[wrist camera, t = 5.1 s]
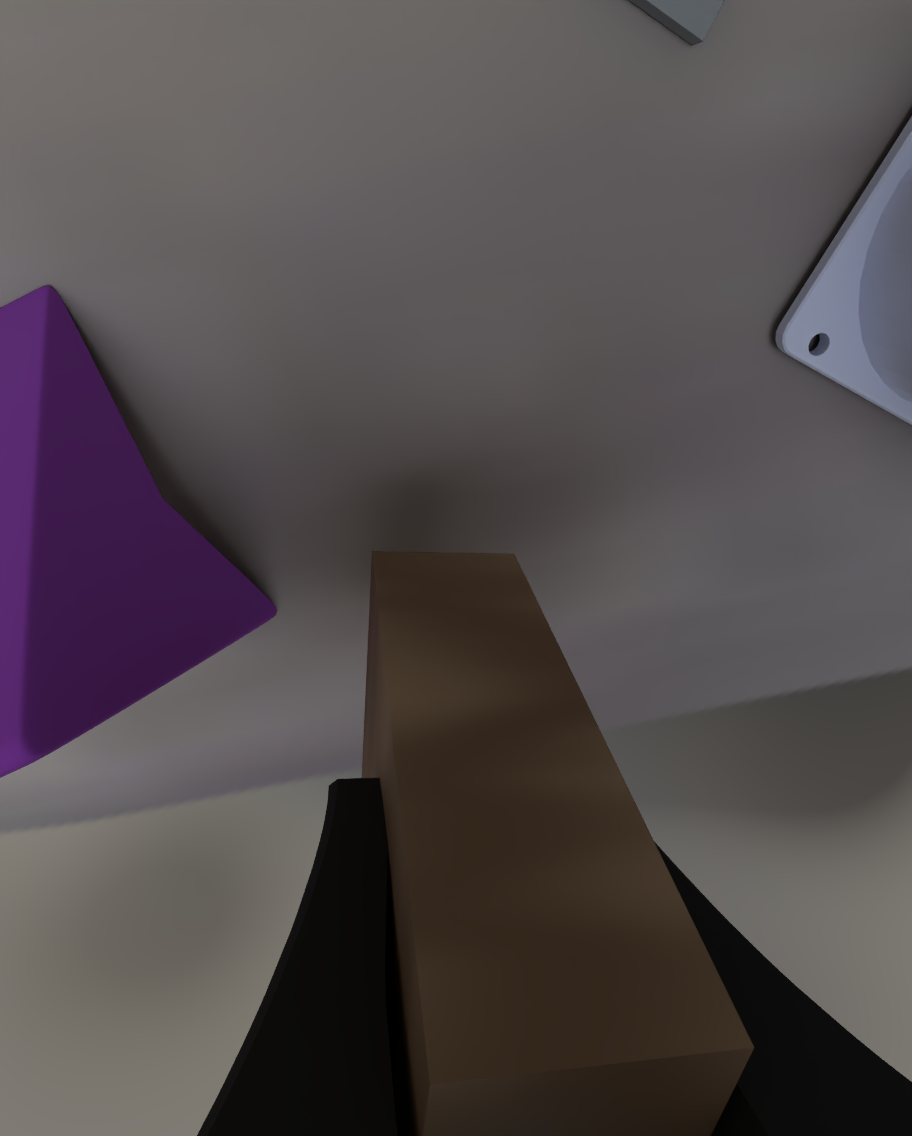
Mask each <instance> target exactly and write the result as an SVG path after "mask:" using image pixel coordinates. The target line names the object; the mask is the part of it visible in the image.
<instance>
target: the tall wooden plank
mask: <svg viewBox="0 0 912 1136" xmlns="http://www.w3.org/2000/svg"><path fill="white" fill-rule="evenodd" d="M362 778H380V785H381V791H382V798H383V806H384V814H385V823H386V831H387V840H388V856H387V902H386V949H385V984H386V1011H387V1023H388V1035H389V1046H390V1058H391V1070H392V1082H393V1093H394V1104H395V1115H396V1125H397V1136H711V1134H712V1132H713V1130H714V1128H715V1126H716V1124H717V1122H718V1120H719V1118H720V1116H721V1114H722V1112H723V1110H724V1108H725V1106H726V1104H727V1102H728V1100H729V1098H730V1096H731V1094H732V1092H733V1090H734V1088H735V1086H736V1084H737V1082H738V1080H739V1078H740V1076H741V1074H742V1072H743V1070H744V1068H745V1066H746V1064H747V1062H748V1059H749V1057H750V1055H751V1053H752V1051H753V1049H754V1046H753V1044H752V1042H751V1040H750V1038H749V1036H748V1034H747V1032H746V1030H745V1028H744V1025H743V1023H742V1021H741V1019H740V1017H739V1015H738V1013H737V1011H736V1009H735V1007H734V1005H733V1003H732V1001H731V999H730V997H729V995H728V993H727V991H726V988H725V986H724V984H723V982H722V980H721V978H720V976H719V974H718V972H717V970H716V968H715V966H714V964H713V962H712V960H711V958H710V956H709V954H708V951H707V949H706V947H705V945H704V943H703V941H702V939H701V937H700V935H699V933H698V931H697V929H696V927H695V925H694V923H693V921H692V919H691V916H690V914H689V912H688V910H687V908H686V906H685V904H684V902H683V900H682V898H681V896H680V894H679V892H678V890H677V888H676V886H675V884H674V882H673V879H672V877H671V875H670V873H669V871H668V869H667V867H666V865H665V863H664V861H663V859H662V857H661V855H660V853H659V851H658V849H657V847H656V845H655V842H654V841H653V838H652V836H651V834H650V832H649V830H648V828H647V826H646V824H645V822H644V820H643V818H642V816H641V814H640V812H639V810H638V808H637V805H636V803H635V801H634V800H633V797H632V795H631V793H630V791H629V789H628V787H627V785H626V783H625V781H624V779H623V777H622V775H621V773H620V770H619V768H618V767H617V764H616V762H615V760H614V758H613V756H612V754H611V752H610V750H609V748H608V746H607V744H606V742H605V740H604V738H603V736H602V733H601V731H600V729H599V727H598V725H597V723H596V721H595V719H594V717H593V715H592V713H591V711H590V709H589V707H588V705H587V703H586V701H585V698H584V696H583V694H582V692H581V690H580V688H579V686H578V684H577V682H576V680H575V678H574V676H573V674H572V672H571V670H570V668H569V666H568V664H567V661H566V659H565V657H564V655H563V653H562V651H561V649H560V647H559V645H558V643H557V641H556V639H555V637H554V635H553V633H552V631H551V629H550V627H549V624H548V622H547V620H546V618H545V616H544V614H543V612H542V610H541V608H540V606H539V604H538V602H537V600H536V598H535V596H534V594H533V592H532V589H531V587H530V585H529V583H528V581H527V579H526V577H525V575H524V573H523V571H522V569H521V567H520V565H519V563H518V561H517V559H516V557H515V555H514V554H496V553H439V552H381V551H372V566H371V588H370V610H369V631H368V653H367V675H366V696H365V718H364V740H363V762H362Z"/></svg>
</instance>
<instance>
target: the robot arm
mask: <svg viewBox="0 0 912 1136" xmlns="http://www.w3.org/2000/svg"><path fill="white" fill-rule="evenodd" d="M817 334H819V335H820V341H819V344H818V346H817V347H816V348H815V349H814V350H813V351H810V352H809V347H808V345H809V343H810V340H811V339H812V338H813V337H814V336H815V335H817ZM775 341H776V344H777V347H778V348H779V349H780V350H781V351H782V352H783V353H785V354H787V355H788V356H790V357H792V358H794V359H795V360H797V361H799V362H801V363H803V364H804V365H806V366H808V367H810V368H811V369H813V370H815V371H817V372H818V373H820V374H822V375H824V376H825V377H827V378H829V379H831V380H832V381H834V382H836V383H838V384H840V385H841V386H843V387H845V388H847V389H848V390H850V391H852V392H854V393H855V394H857V395H859V396H861V397H862V398H864V399H866V400H868V401H869V402H871V403H873V404H875V405H877V406H878V407H880V408H882V409H884V410H885V411H887V412H889V413H891V414H892V415H894V416H896V417H898V418H899V419H901V420H903V421H905V422H906V423H908V424H910V425H912V116H911V118H910V119H909V121H908V123H907V124H906V126H905V127H904V129H903V131H902V132H901V134H900V135H899V137H898V138H897V140H896V142H895V143H894V145H893V146H892V148H891V149H890V151H889V153H888V154H887V156H886V157H885V159H884V160H883V162H882V164H881V165H880V167H879V168H878V170H877V171H876V173H875V175H874V176H873V178H872V179H871V181H870V182H869V184H868V186H867V187H866V189H865V190H864V192H863V193H862V195H861V197H860V198H859V200H858V201H857V203H856V204H855V206H854V208H853V209H852V211H851V212H850V214H849V215H848V217H847V219H846V220H845V222H844V223H843V225H842V226H841V228H840V230H839V231H838V233H837V234H836V236H835V237H834V239H833V241H832V242H831V244H830V245H829V247H828V248H827V250H826V252H825V253H824V255H823V256H822V258H821V259H820V261H819V263H818V264H817V266H816V267H815V269H814V270H813V272H812V274H811V275H810V277H809V278H808V280H807V282H806V283H805V285H804V286H803V288H802V289H801V291H800V293H799V294H798V296H797V297H796V299H795V300H794V302H793V304H792V305H791V307H790V308H789V310H788V311H787V313H786V315H785V316H784V318H783V319H782V321H781V322H780V324H779V326H778V329H777V331H776V339H775ZM655 845H656V847H657V849H658V851H659V853H660V855H661V857H662V859H663V861H664V863H665V865H666V867H667V869H668V871H669V873H670V875H671V877H672V879H673V882H674V884H675V886H676V888H677V890H678V892H679V894H680V896H681V898H682V900H683V902H684V904H685V906H686V908H687V910H688V912H689V914H690V916H691V919H692V921H693V923H694V925H695V927H696V929H697V931H698V933H699V935H700V937H701V939H702V941H703V943H704V945H705V947H706V949H707V951H708V954H709V956H710V958H711V960H712V962H713V964H714V966H715V968H716V970H717V972H718V974H719V976H720V978H721V980H722V982H723V984H724V986H725V988H726V991H727V993H728V995H729V997H730V999H731V1001H732V1003H733V1005H734V1007H735V1009H736V1011H737V1013H738V1015H739V1017H740V1019H741V1021H742V1023H743V1025H744V1028H745V1030H746V1032H747V1034H748V1036H749V1038H750V1040H751V1042H752V1044H753V1046H754V1049H753V1051H752V1053H751V1055H750V1057H749V1059H748V1062H747V1064H746V1066H745V1068H744V1070H743V1072H742V1074H741V1076H740V1078H739V1080H738V1082H737V1084H736V1086H735V1088H734V1090H733V1092H732V1094H731V1096H730V1098H729V1100H728V1102H727V1104H726V1106H725V1108H724V1110H723V1112H722V1114H721V1116H720V1118H719V1120H718V1122H717V1124H716V1126H715V1128H714V1130H713V1132H712V1134H711V1136H912V1082H911V1081H909V1080H908V1079H907V1078H906V1077H904V1076H903V1075H902V1074H900V1073H899V1072H898V1071H896V1070H895V1069H894V1068H893V1067H891V1066H890V1065H889V1064H888V1063H886V1062H885V1061H884V1060H882V1059H881V1058H880V1057H879V1056H878V1055H876V1054H875V1053H874V1052H873V1051H871V1050H870V1049H869V1048H868V1047H867V1046H865V1045H864V1044H863V1043H862V1042H860V1041H859V1040H858V1039H856V1037H854V1036H853V1035H852V1034H851V1033H849V1032H848V1031H847V1030H846V1029H845V1028H844V1027H842V1026H841V1025H840V1024H839V1023H838V1022H837V1021H836V1020H834V1019H833V1018H832V1017H831V1016H830V1015H829V1014H828V1013H826V1012H825V1011H824V1010H823V1009H822V1008H821V1007H819V1006H818V1005H817V1004H816V1003H815V1002H814V1001H813V1000H811V999H810V998H809V997H808V996H807V995H806V994H804V993H803V992H802V991H801V990H800V989H799V988H798V987H796V986H795V985H794V984H793V983H792V982H791V981H790V980H789V979H788V978H787V977H785V976H784V975H783V974H782V973H781V972H780V971H779V970H778V969H777V968H776V967H775V966H774V965H772V963H770V961H768V960H767V959H766V958H765V957H764V956H763V955H762V954H761V953H760V952H759V951H758V950H757V949H756V948H755V947H754V946H753V945H752V944H751V943H750V942H749V941H748V940H747V939H746V938H745V937H744V936H743V935H742V934H741V933H740V932H739V931H738V930H737V929H736V928H735V927H734V926H733V925H732V924H731V923H730V922H729V921H728V920H727V919H726V918H725V917H724V916H723V915H722V914H721V913H720V912H719V911H718V910H717V909H716V908H715V907H714V906H713V905H712V904H711V903H710V902H709V900H708V899H707V898H706V897H705V896H704V895H703V894H702V893H701V892H700V891H699V890H698V889H697V888H696V887H695V885H694V884H692V882H691V881H690V880H689V879H688V878H687V877H686V876H685V875H684V874H683V873H682V872H681V870H680V869H679V868H678V867H677V866H676V865H675V864H674V863H673V862H672V861H671V860H670V858H669V857H668V856H667V855H666V854H665V853H664V852H663V851H662V850H661V849H660V847H659V846H658V845H657V844H656V843H655ZM387 856H388V840H387V831H386V823H385V814H384V806H383V798H382V791H381V785H380V778H354V779H337V780H336V781H335V782H333V783H332V784H331V785H329V791H328V804H327V810H326V815H325V821H324V826H323V830H322V834H321V839H320V842H319V846H318V850H317V853H316V857H315V861H314V864H313V868H312V871H311V874H310V877H309V880H308V883H307V886H306V889H305V892H304V895H303V898H302V901H301V904H300V907H299V910H298V913H297V915H296V918H295V921H294V924H293V927H292V929H291V932H290V935H289V937H288V940H287V942H286V944H285V947H284V949H283V952H282V954H281V957H280V959H279V962H278V964H277V967H276V969H275V972H274V974H273V976H272V979H271V981H270V984H269V986H268V989H267V991H266V994H265V996H264V998H263V1001H262V1003H261V1005H260V1007H259V1010H258V1012H257V1014H256V1016H255V1019H254V1021H253V1023H252V1025H251V1028H250V1030H249V1032H248V1034H247V1036H246V1039H245V1041H244V1043H243V1045H242V1047H241V1049H240V1051H239V1053H238V1055H237V1057H236V1059H235V1062H234V1064H233V1066H232V1068H231V1070H230V1072H229V1074H228V1076H227V1078H226V1080H225V1083H224V1084H223V1086H222V1088H221V1090H220V1092H219V1094H218V1096H217V1098H216V1100H215V1102H214V1104H213V1106H212V1108H211V1110H210V1112H209V1114H208V1116H207V1118H206V1119H205V1121H204V1123H203V1125H202V1127H201V1129H200V1131H199V1133H198V1135H197V1136H397V1125H396V1115H395V1104H394V1093H393V1082H392V1070H391V1058H390V1046H389V1035H388V1023H387V1011H386V984H385V949H386V902H387Z"/></svg>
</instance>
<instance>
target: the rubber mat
mask: <svg viewBox="0 0 912 1136" xmlns="http://www.w3.org/2000/svg"><path fill="white" fill-rule="evenodd" d="M629 1H631V2H632V3H634V4H635V5H636V6H638V7H639V8H641V9H642V10H643V11H645V12H646V13H648V14H649V15H650V16H652V17H653V18H655V19H656V20H657V21H659V22H660V23H662V24H663V25H664V26H666V27H667V28H669V29H670V30H671V31H673V32H674V33H675V34H677V35H678V36H680V37H681V38H682V39H684V40H685V41H687V42H688V43H689V44H691V45H694V44H697V43H700V42H702V41H704V39H705V37H706V35H707V33H708V31H709V29H710V27H711V25H712V23H713V21H714V19H715V17H716V15H717V14H718V12H719V10H720V8H721V6H722V4H723V2H724V0H629Z"/></svg>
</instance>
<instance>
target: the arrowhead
mask: <svg viewBox="0 0 912 1136" xmlns="http://www.w3.org/2000/svg"><path fill="white" fill-rule="evenodd" d="M275 615H276V608H275V606H274V604H273V603H272V602H271V601H270V599H269V598H268V597H267V596H265V595H264V594H263V593H262V592H261V591H260V590H259V589H258V588H257V587H256V586H255V585H254V584H253V583H252V582H251V581H250V580H249V579H248V578H247V577H246V576H244V575H243V574H242V573H241V572H240V571H239V570H238V569H237V568H236V567H235V566H234V565H233V564H232V563H231V562H230V561H229V560H227V559H226V558H225V557H224V556H223V555H222V554H221V553H220V552H219V551H218V550H217V549H216V548H215V547H214V546H213V545H212V544H210V543H209V542H208V541H207V540H206V539H205V538H204V537H203V536H202V535H201V534H200V533H199V532H198V531H197V530H196V529H194V528H193V527H192V526H191V525H190V524H189V523H188V522H187V521H186V520H185V519H184V518H183V517H182V516H181V515H180V514H179V513H177V512H176V511H175V510H174V509H173V508H172V507H171V506H170V505H169V504H168V503H167V502H166V501H165V500H164V499H163V498H162V496H161V494H160V492H159V490H158V488H157V486H156V484H155V482H154V480H153V478H152V476H151V474H150V472H149V470H148V468H147V466H146V464H145V462H144V460H143V458H142V456H141V454H140V452H139V450H138V448H137V446H136V444H135V442H134V440H133V438H132V436H131V434H130V432H129V430H128V428H127V426H126V424H125V422H124V420H123V418H122V416H121V414H120V412H119V410H118V408H117V406H116V404H115V403H114V401H113V399H112V397H111V395H110V393H109V391H108V389H107V387H106V385H105V383H104V381H103V379H102V377H101V375H100V373H99V371H98V369H97V367H96V365H95V363H94V361H93V359H92V357H91V355H90V353H89V351H88V349H87V347H86V345H85V343H84V341H83V339H82V337H81V335H80V333H79V331H78V329H77V327H76V325H75V323H74V322H73V320H72V318H71V316H70V314H69V312H68V310H67V308H66V306H65V304H64V302H63V301H62V299H61V297H60V296H59V294H58V293H57V292H56V291H55V290H54V289H53V288H52V287H50V286H44V287H41V288H38V289H36V290H34V291H32V292H31V293H29V294H27V295H25V296H23V297H21V298H19V299H17V300H15V301H13V302H11V303H9V304H7V305H5V306H3V307H2V308H0V778H1V777H3V776H5V775H7V774H9V773H11V772H14V771H16V770H18V769H20V768H22V767H24V766H27V765H29V764H31V763H33V762H35V761H37V760H38V759H40V758H42V757H44V756H46V755H48V754H49V753H51V752H53V751H55V750H56V749H58V748H60V747H62V746H63V745H65V744H67V743H68V742H70V741H72V740H74V739H75V738H77V737H79V736H80V735H82V734H84V733H85V732H87V731H89V730H90V729H92V728H94V727H95V726H97V725H99V724H100V723H102V722H104V721H105V720H107V719H109V718H110V717H112V716H114V715H115V714H117V713H119V712H120V711H122V710H124V709H125V708H127V707H129V706H130V705H132V704H134V703H135V702H137V701H139V700H140V699H142V698H143V697H145V696H147V695H148V694H150V693H152V692H153V691H155V690H157V689H158V688H160V687H162V686H163V685H165V684H167V683H168V682H170V681H171V680H173V679H175V678H176V677H178V676H180V675H181V674H183V673H185V672H186V671H188V670H189V669H191V668H193V667H194V666H196V665H198V664H199V663H201V662H203V661H204V660H206V659H207V658H209V657H211V656H212V655H214V654H216V653H217V652H219V651H220V650H222V649H224V648H225V647H227V646H229V645H230V644H232V643H233V642H235V641H237V640H238V639H240V638H242V637H243V636H245V635H246V634H248V633H250V632H251V631H253V630H254V629H256V628H258V627H259V626H261V625H262V624H264V623H265V622H267V621H268V620H270V619H271V618H273V617H274V616H275Z"/></svg>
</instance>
